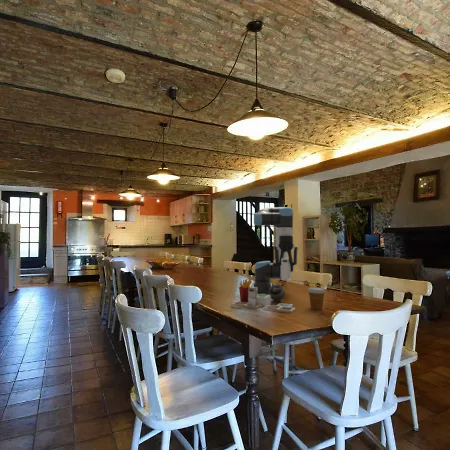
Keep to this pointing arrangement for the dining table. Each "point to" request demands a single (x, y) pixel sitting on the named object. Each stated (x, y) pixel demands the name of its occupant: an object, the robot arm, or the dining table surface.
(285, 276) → the block
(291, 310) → the pallet
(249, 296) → the pallet
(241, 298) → the french fries
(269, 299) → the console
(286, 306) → the tote
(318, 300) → the disposable coffee cup
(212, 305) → the dining table surface
